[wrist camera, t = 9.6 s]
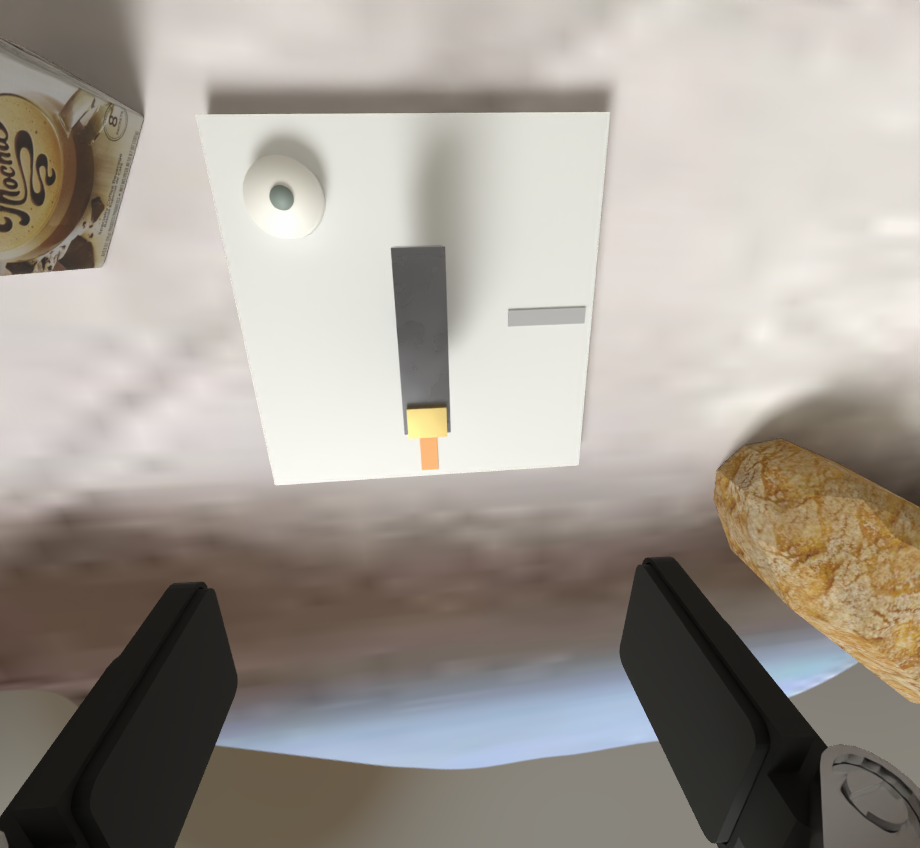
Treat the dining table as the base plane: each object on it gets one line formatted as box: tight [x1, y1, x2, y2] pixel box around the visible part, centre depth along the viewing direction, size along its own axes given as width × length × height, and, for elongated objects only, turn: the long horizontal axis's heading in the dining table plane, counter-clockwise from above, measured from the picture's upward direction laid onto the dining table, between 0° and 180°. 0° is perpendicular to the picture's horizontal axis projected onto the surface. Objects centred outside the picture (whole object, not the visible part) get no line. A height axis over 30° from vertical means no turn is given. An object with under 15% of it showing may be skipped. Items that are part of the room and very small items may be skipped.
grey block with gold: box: [391, 245, 451, 439], centre depth 24 cm, size 9×2×7 cm, turn 1°
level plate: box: [195, 112, 610, 485], centre depth 28 cm, size 22×22×3 cm
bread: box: [714, 439, 920, 704], centre depth 37 cm, size 36×11×10 cm, turn 51°
